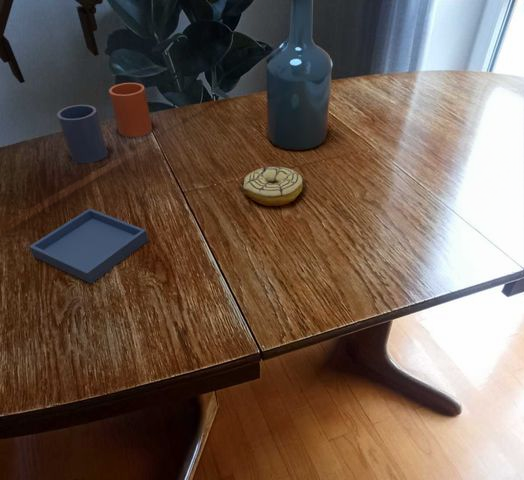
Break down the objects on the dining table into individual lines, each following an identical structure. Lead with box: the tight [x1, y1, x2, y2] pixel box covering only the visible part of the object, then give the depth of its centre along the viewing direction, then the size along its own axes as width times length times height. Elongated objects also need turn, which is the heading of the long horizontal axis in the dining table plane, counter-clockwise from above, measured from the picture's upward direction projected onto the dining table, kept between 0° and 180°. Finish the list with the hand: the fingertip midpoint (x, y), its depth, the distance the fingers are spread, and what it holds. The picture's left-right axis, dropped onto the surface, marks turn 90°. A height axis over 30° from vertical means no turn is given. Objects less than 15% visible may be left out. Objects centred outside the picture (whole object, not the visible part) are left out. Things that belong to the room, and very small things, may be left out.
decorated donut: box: [242, 166, 303, 207], centre depth 86 cm, size 10×11×4 cm
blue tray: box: [28, 207, 149, 285], centre depth 76 cm, size 13×13×2 cm
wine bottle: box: [265, 0, 334, 151], centre depth 92 cm, size 14×13×30 cm
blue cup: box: [56, 104, 109, 169], centre depth 94 cm, size 7×7×10 cm
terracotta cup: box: [108, 82, 153, 143], centre depth 102 cm, size 7×7×10 cm
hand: (57, 64), depth 79 cm, fingers open, 13 cm apart
